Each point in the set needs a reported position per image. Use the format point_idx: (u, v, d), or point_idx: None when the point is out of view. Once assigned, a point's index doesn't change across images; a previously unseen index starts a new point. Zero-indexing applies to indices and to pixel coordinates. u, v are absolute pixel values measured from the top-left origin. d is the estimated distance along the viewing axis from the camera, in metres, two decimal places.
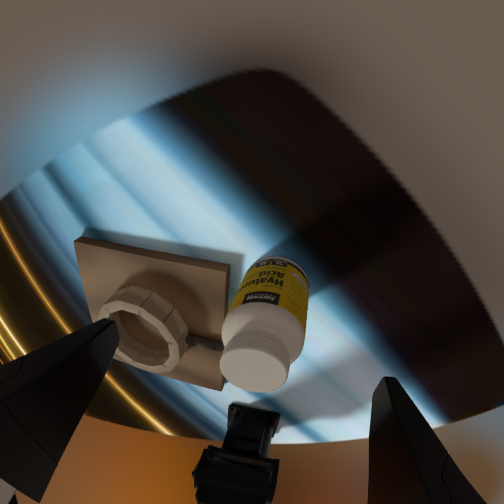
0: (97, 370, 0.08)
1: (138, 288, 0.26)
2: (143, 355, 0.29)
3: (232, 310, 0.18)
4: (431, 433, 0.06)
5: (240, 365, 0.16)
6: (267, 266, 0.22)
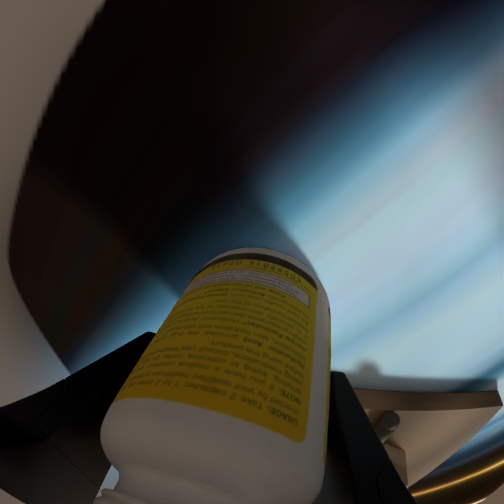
0: None
1: None
2: None
3: None
4: (374, 434, 0.06)
5: None
6: None
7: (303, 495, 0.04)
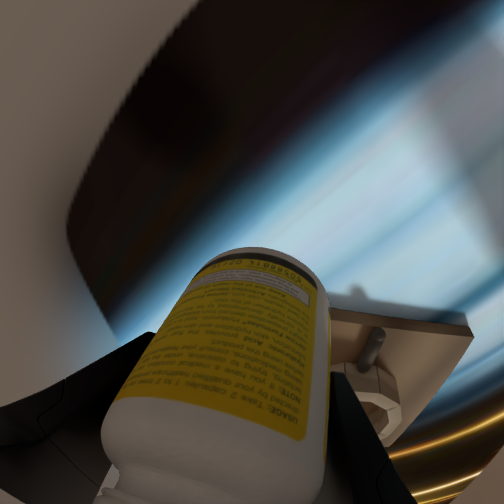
0: None
1: None
2: (381, 419, 0.19)
3: None
4: (374, 434, 0.06)
5: None
6: None
7: (303, 494, 0.04)
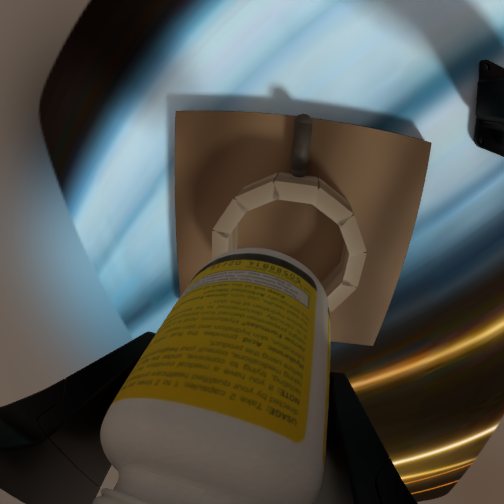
0: None
1: None
2: (343, 264, 0.18)
3: None
4: (374, 434, 0.06)
5: None
6: None
7: (302, 495, 0.04)
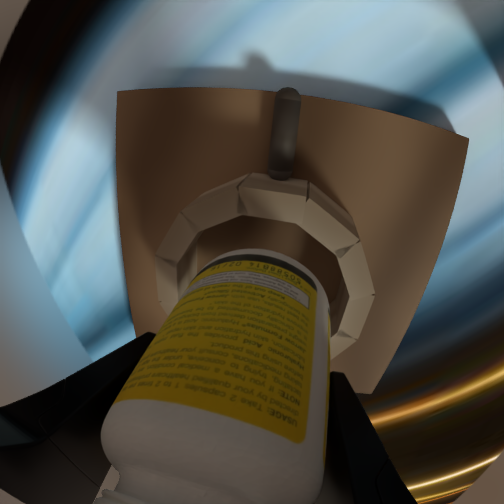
0: None
1: None
2: (339, 306, 0.13)
3: None
4: (373, 434, 0.06)
5: None
6: None
7: (302, 496, 0.04)
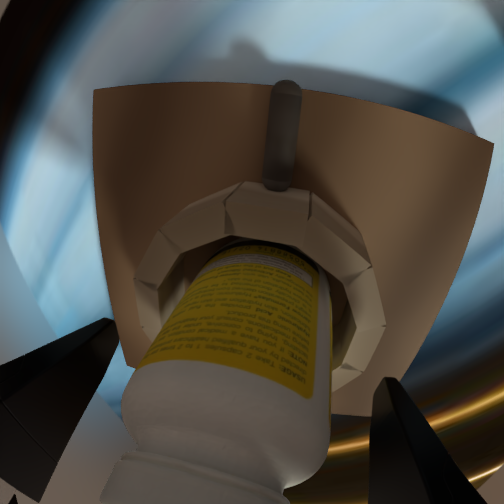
0: (97, 370, 0.08)
1: None
2: (344, 334, 0.11)
3: None
4: (431, 434, 0.06)
5: None
6: None
7: (311, 451, 0.05)
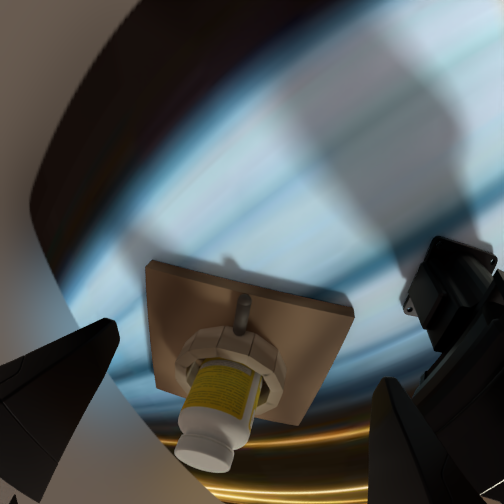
0: (97, 370, 0.08)
1: None
2: (269, 388, 0.23)
3: None
4: (430, 433, 0.06)
5: (195, 463, 0.17)
6: None
7: (240, 435, 0.17)
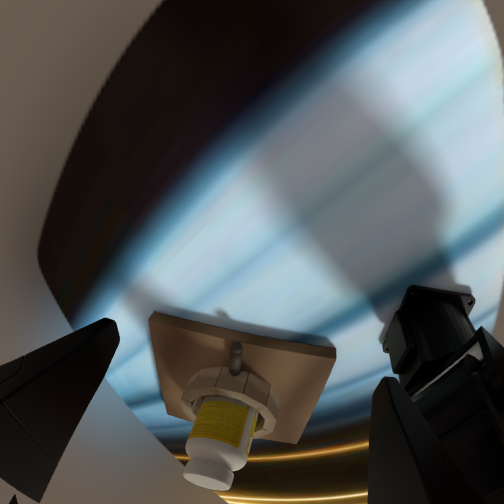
0: (97, 370, 0.08)
1: None
2: None
3: None
4: (431, 433, 0.06)
5: (202, 483, 0.19)
6: None
7: (238, 460, 0.19)
